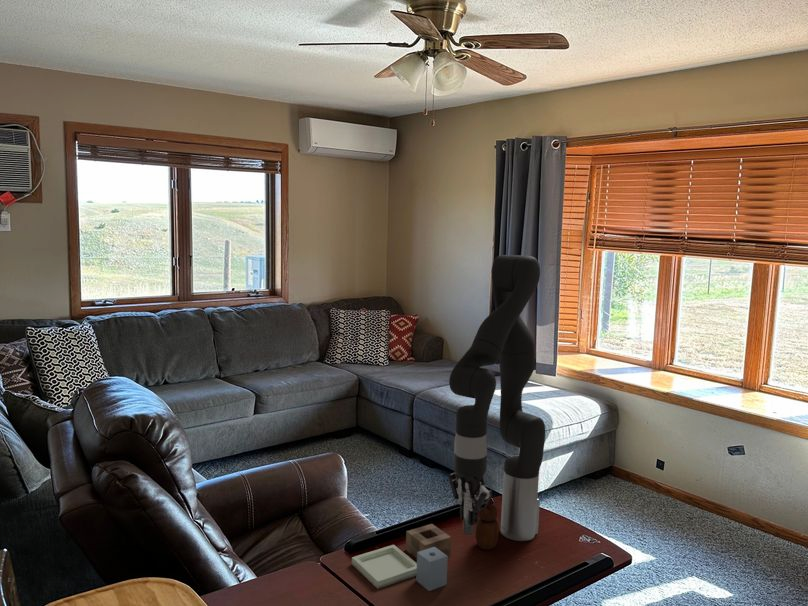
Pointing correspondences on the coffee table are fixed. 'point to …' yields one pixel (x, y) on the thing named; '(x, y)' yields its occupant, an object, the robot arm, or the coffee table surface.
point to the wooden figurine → (487, 527)
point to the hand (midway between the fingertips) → (468, 521)
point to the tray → (385, 566)
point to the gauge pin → (466, 517)
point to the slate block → (431, 568)
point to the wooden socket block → (427, 540)
